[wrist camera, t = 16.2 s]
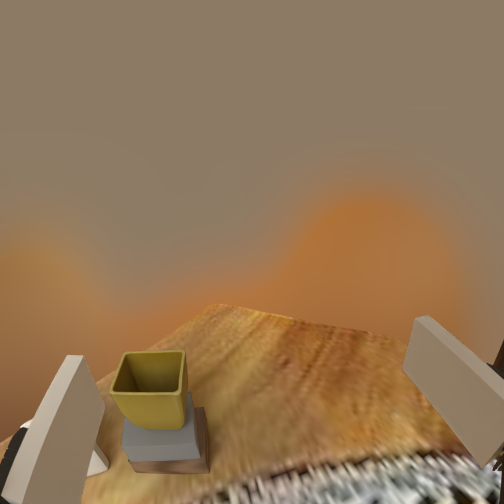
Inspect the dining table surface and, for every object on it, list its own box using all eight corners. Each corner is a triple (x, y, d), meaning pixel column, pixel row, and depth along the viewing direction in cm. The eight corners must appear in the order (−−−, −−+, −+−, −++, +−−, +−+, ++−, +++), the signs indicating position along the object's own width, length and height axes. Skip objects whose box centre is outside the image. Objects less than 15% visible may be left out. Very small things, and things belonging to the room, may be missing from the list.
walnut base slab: (207, 422, 44) (203, 407, 42) (209, 474, 33) (205, 462, 32) (144, 423, 42) (138, 408, 41) (137, 473, 32) (128, 460, 31)
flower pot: (139, 396, 39) (123, 350, 36) (195, 395, 40) (185, 348, 37) (130, 439, 31) (107, 393, 28) (194, 440, 32) (180, 393, 29)
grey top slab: (194, 409, 42) (190, 392, 41) (200, 458, 33) (195, 442, 31) (134, 413, 40) (127, 396, 39) (130, 461, 31) (121, 446, 29)
